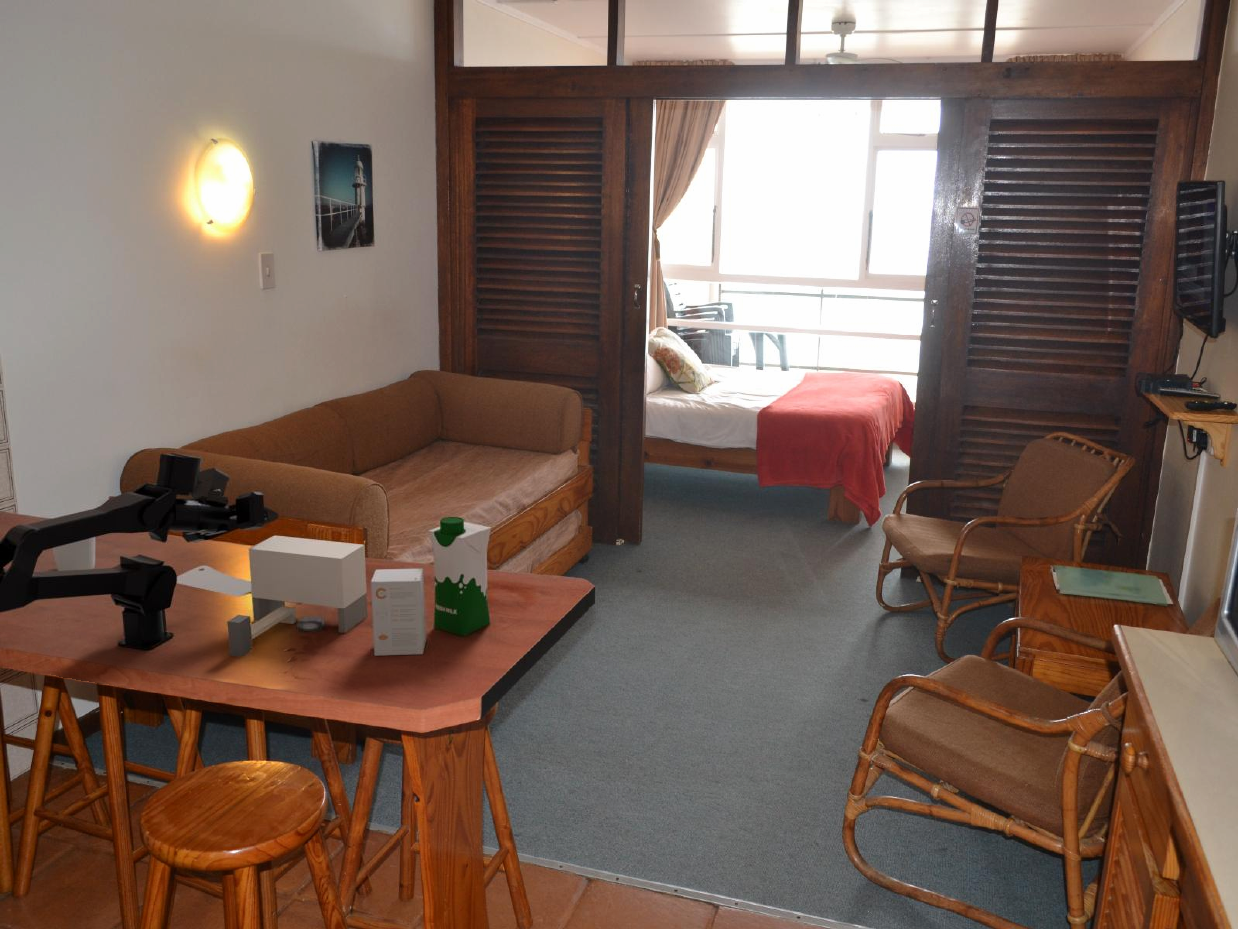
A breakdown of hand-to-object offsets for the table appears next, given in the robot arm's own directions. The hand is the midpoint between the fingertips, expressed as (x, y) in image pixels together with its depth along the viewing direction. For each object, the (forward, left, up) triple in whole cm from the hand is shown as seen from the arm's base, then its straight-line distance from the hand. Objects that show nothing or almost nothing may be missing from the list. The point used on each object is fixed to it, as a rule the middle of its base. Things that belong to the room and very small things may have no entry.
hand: (260, 520), depth 196 cm
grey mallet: (-17, -11, -15) cm, 25 cm away
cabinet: (-7, -14, -15) cm, 22 cm away
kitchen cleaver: (+2, +7, -16) cm, 17 cm away
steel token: (-10, -16, -15) cm, 24 cm away
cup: (+2, +44, -15) cm, 47 cm away
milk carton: (-2, -41, -15) cm, 44 cm away
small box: (-14, -35, -15) cm, 41 cm away
